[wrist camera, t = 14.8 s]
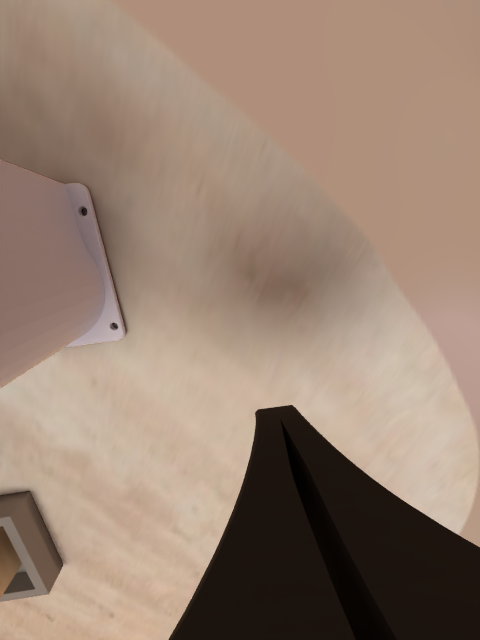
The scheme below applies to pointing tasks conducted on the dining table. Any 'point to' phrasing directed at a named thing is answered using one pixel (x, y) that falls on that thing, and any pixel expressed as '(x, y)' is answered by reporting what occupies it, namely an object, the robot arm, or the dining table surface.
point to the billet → (7, 561)
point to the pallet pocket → (28, 547)
